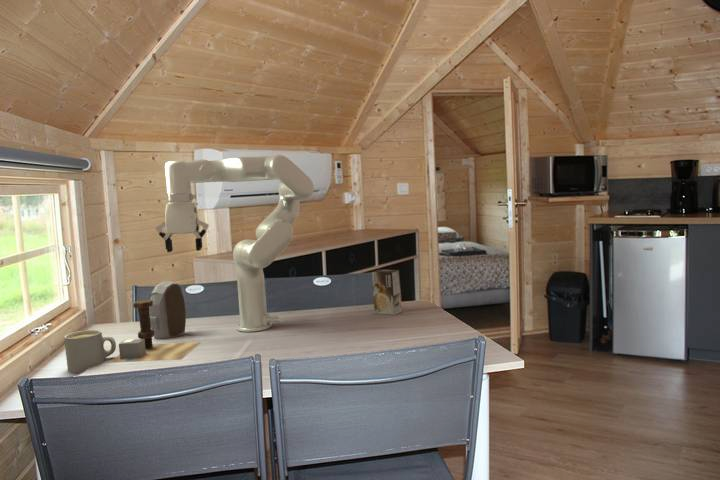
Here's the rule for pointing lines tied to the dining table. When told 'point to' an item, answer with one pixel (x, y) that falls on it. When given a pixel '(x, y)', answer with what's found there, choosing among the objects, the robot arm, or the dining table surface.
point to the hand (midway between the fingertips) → (184, 251)
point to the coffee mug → (86, 349)
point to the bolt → (145, 322)
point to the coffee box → (387, 292)
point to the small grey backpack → (167, 310)
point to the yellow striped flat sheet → (162, 352)
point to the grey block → (132, 348)
